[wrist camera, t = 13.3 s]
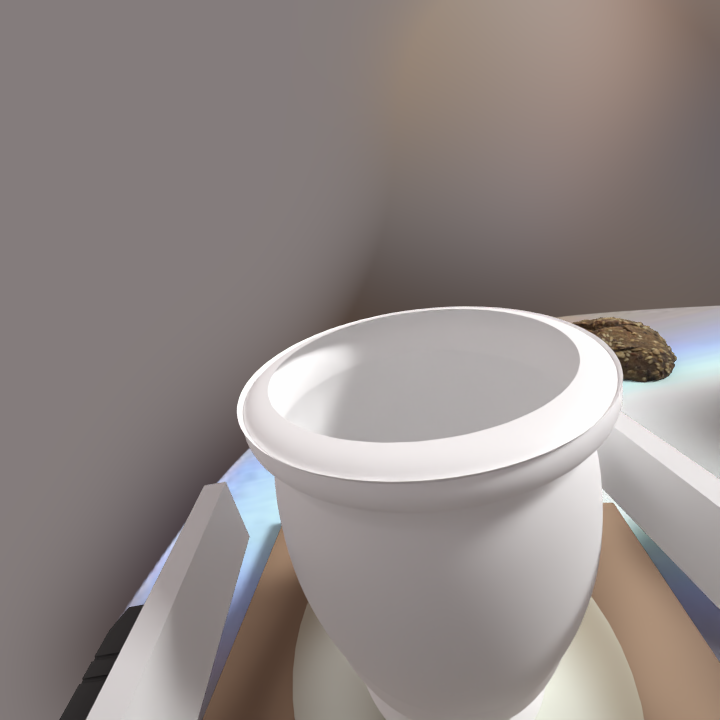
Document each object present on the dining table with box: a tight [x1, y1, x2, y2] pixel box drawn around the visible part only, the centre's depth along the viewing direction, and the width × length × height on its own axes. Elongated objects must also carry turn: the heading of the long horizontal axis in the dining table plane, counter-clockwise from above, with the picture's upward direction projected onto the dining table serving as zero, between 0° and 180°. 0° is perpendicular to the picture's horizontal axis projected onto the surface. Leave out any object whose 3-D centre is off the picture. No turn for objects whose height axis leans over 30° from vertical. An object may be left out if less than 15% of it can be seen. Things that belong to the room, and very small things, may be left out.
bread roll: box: [572, 317, 677, 382], centre depth 40 cm, size 13×12×5 cm
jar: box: [237, 307, 623, 720], centre depth 13 cm, size 11×10×15 cm
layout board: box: [202, 503, 720, 720], centre depth 17 cm, size 22×16×2 cm
